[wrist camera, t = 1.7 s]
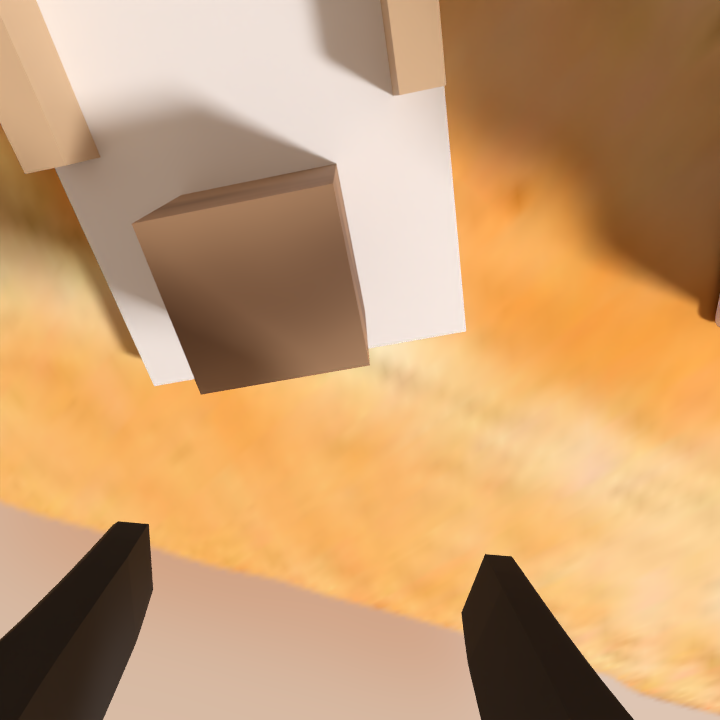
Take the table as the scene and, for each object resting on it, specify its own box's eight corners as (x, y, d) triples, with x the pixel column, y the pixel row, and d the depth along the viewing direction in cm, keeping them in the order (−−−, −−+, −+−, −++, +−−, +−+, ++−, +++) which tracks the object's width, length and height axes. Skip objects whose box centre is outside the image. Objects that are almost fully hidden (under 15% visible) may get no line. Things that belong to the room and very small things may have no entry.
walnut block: (365, 311, 17) (369, 365, 14) (230, 335, 18) (200, 394, 14) (336, 163, 15) (332, 183, 11) (181, 195, 15) (131, 223, 12)
